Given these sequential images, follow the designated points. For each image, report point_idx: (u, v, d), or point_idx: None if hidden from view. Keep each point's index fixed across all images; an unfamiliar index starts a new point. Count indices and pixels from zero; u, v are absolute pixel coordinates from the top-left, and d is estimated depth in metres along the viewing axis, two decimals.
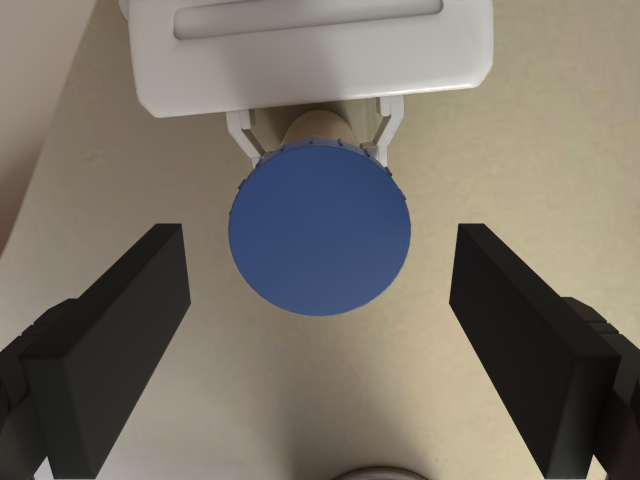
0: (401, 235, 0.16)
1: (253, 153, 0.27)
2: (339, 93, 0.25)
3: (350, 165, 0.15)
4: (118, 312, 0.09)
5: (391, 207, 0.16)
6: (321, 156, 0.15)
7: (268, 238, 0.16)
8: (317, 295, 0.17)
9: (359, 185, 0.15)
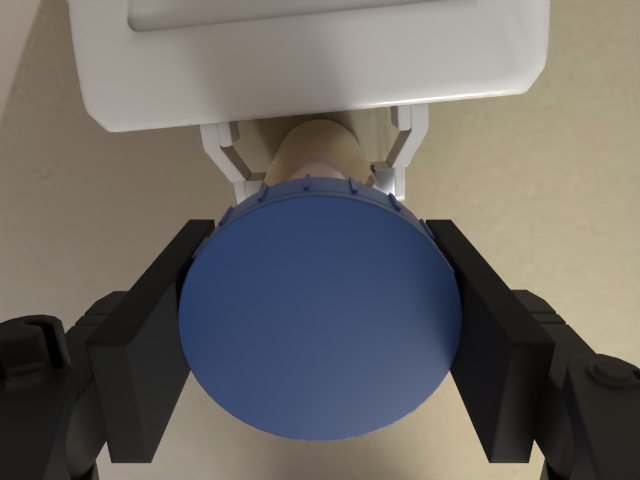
0: (447, 330, 0.10)
1: (236, 176, 0.21)
2: (345, 101, 0.19)
3: (370, 226, 0.09)
4: (168, 303, 0.09)
5: (433, 289, 0.10)
6: (323, 212, 0.09)
7: (240, 334, 0.10)
8: (316, 413, 0.11)
9: (383, 257, 0.10)
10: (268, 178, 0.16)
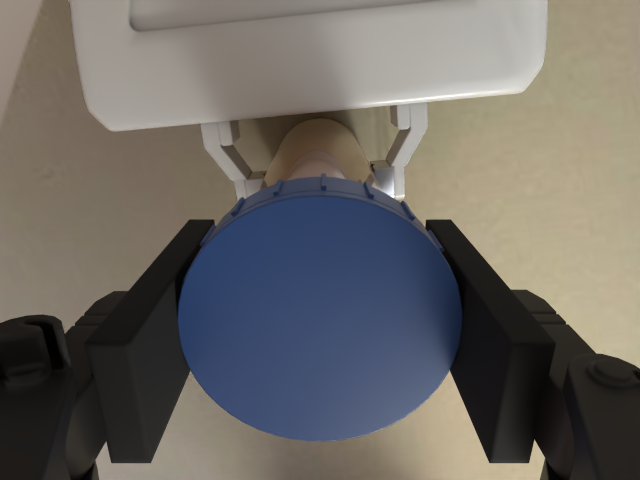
0: (247, 230, 0.09)
1: (236, 175, 0.21)
2: (345, 100, 0.19)
3: (200, 346, 0.10)
4: (167, 303, 0.09)
5: (217, 268, 0.10)
6: (213, 381, 0.11)
7: (358, 388, 0.11)
8: (414, 290, 0.10)
9: (217, 323, 0.10)
10: (268, 176, 0.16)
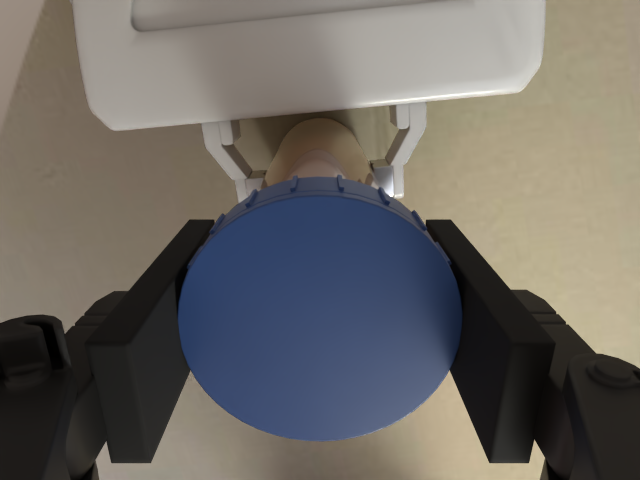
0: (262, 420, 0.11)
1: (237, 174, 0.22)
2: (345, 100, 0.20)
3: (387, 409, 0.11)
4: (167, 303, 0.09)
5: (307, 425, 0.11)
6: (421, 387, 0.11)
7: (361, 269, 0.10)
8: (229, 282, 0.10)
9: (357, 407, 0.11)
10: (269, 175, 0.16)
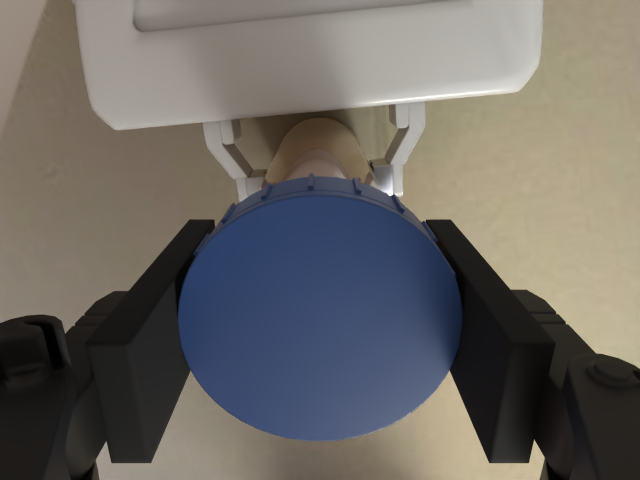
0: (447, 333, 0.10)
1: (237, 173, 0.22)
2: (345, 100, 0.20)
3: (373, 227, 0.09)
4: (167, 303, 0.09)
5: (435, 291, 0.10)
6: (327, 212, 0.09)
7: (240, 332, 0.10)
8: (314, 413, 0.11)
9: (386, 258, 0.10)
10: (270, 174, 0.16)
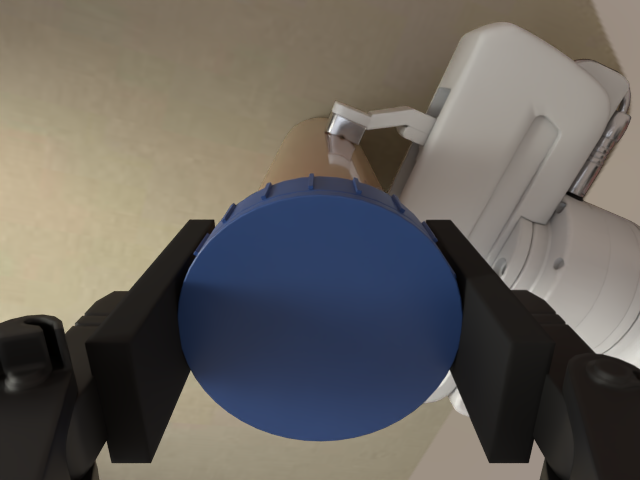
0: (447, 333, 0.10)
1: (374, 122, 0.21)
2: None
3: (373, 227, 0.09)
4: (167, 303, 0.09)
5: (435, 291, 0.10)
6: (327, 212, 0.09)
7: (240, 332, 0.10)
8: (314, 413, 0.11)
9: (386, 258, 0.10)
10: None
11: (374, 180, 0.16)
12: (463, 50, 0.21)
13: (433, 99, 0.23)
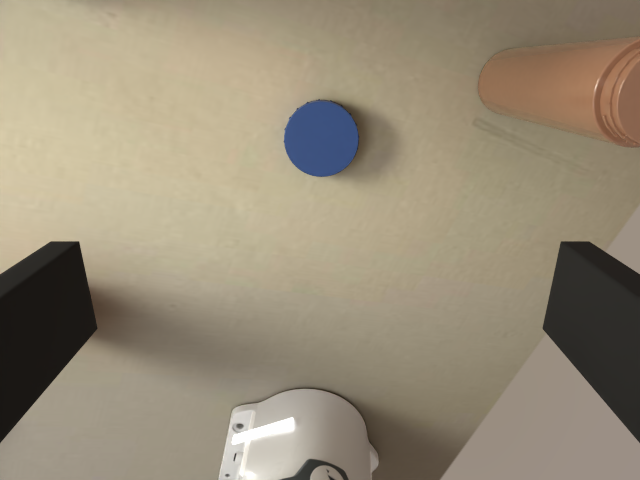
0: (354, 140, 0.39)
1: None
2: None
3: (334, 109, 0.38)
4: None
5: (350, 127, 0.39)
6: (323, 105, 0.38)
7: (300, 140, 0.39)
8: (319, 166, 0.40)
9: (337, 118, 0.38)
10: None
11: None
12: None
13: None
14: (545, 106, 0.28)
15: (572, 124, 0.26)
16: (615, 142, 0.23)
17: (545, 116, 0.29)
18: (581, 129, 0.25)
